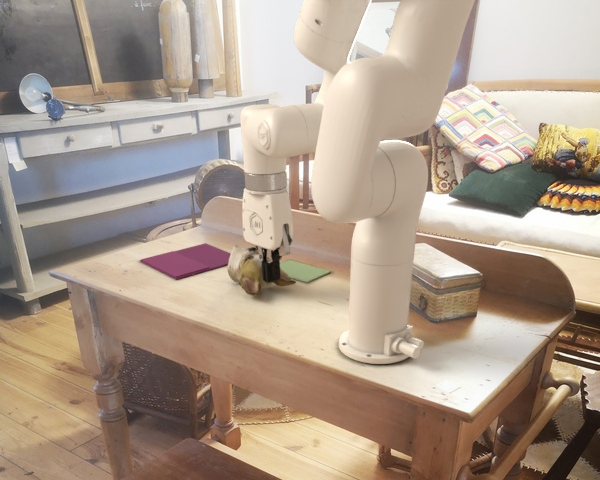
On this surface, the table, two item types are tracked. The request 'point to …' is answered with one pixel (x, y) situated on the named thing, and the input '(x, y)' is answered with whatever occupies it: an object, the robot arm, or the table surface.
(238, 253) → the ceramic sculpture
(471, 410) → the table surface
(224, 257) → the plum cloth
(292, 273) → the sage cloth
